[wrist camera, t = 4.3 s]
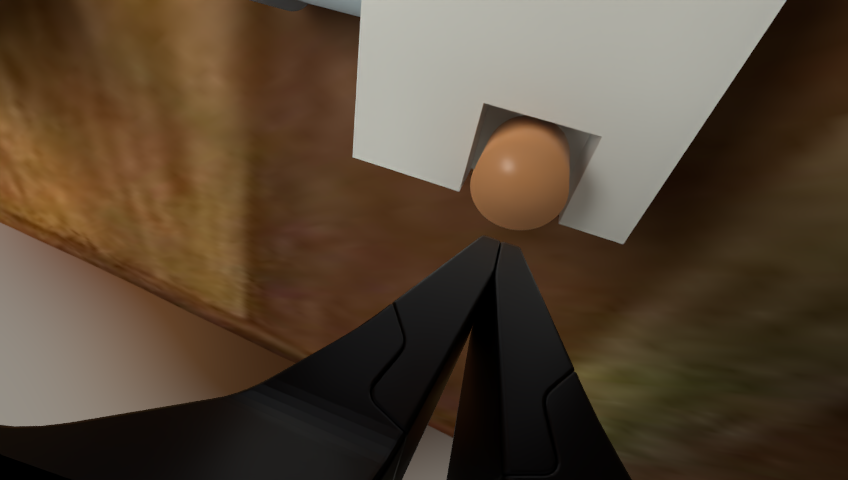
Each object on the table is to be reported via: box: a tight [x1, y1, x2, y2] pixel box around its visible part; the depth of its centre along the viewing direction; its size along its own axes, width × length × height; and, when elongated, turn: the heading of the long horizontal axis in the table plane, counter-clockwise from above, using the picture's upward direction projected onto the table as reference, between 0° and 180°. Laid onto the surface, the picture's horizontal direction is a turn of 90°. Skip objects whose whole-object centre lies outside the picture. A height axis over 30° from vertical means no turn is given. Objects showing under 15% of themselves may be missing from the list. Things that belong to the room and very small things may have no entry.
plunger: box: [470, 115, 570, 230], centre depth 12 cm, size 3×3×2 cm
